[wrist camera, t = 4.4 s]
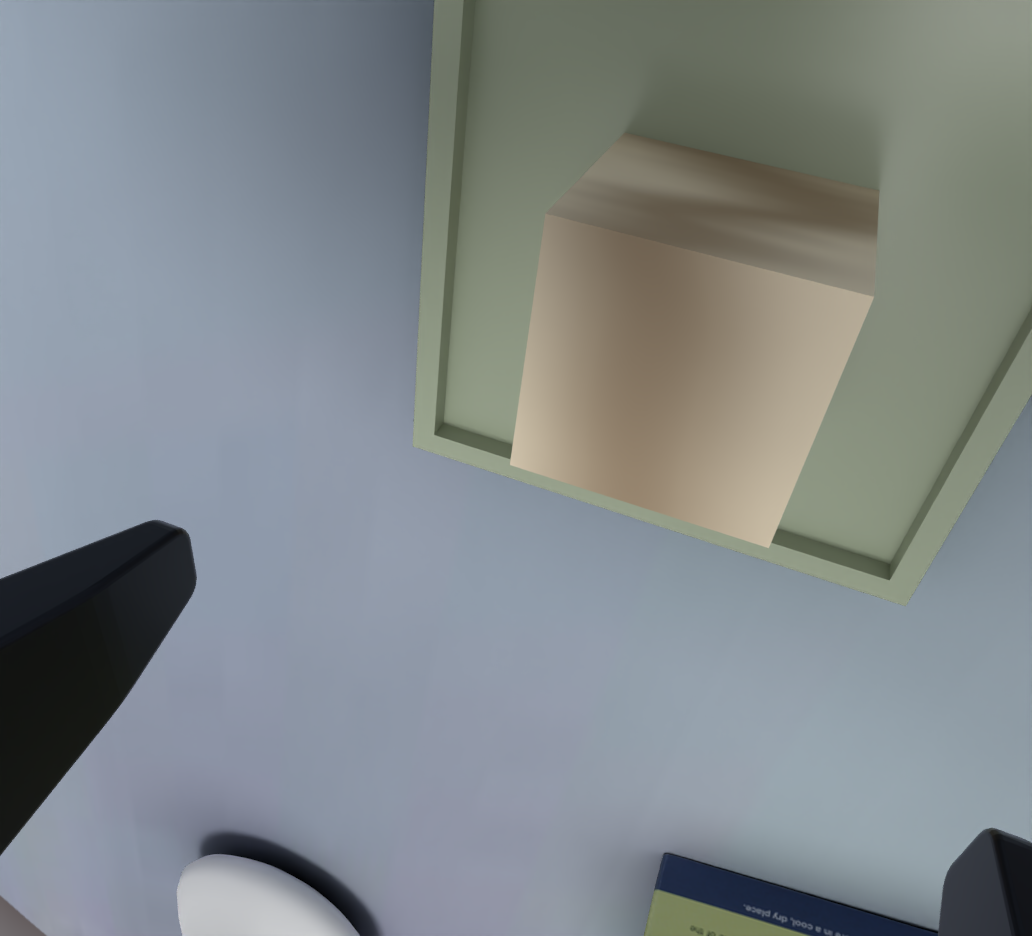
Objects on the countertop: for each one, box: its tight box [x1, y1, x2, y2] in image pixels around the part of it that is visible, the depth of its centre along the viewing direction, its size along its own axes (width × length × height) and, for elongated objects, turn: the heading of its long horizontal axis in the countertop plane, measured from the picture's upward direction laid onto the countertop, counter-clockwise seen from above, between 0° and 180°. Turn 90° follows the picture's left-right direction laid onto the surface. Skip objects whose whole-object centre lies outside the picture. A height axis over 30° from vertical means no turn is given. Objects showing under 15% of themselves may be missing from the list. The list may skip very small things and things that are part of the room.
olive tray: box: [413, 0, 1032, 606], centre depth 18 cm, size 13×13×1 cm
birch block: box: [510, 133, 879, 548], centre depth 16 cm, size 5×5×5 cm
